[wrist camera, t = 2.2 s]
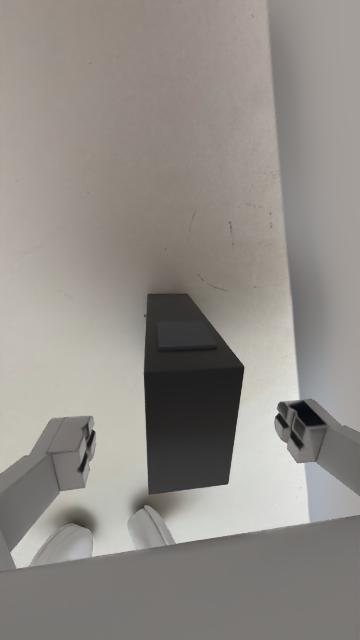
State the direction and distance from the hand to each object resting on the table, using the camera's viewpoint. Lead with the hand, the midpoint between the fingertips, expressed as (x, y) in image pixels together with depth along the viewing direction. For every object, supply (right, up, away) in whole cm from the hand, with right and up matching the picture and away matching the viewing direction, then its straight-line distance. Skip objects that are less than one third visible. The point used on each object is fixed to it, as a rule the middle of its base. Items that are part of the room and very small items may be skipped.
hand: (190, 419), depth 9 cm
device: (-2, +4, +10) cm, 11 cm away
